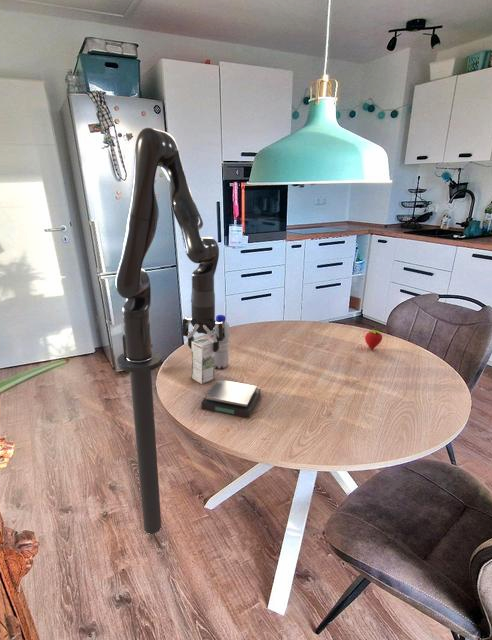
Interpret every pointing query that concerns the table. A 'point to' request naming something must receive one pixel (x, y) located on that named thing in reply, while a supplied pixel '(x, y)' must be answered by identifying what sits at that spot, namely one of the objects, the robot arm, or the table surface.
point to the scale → (231, 406)
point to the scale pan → (232, 392)
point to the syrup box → (203, 360)
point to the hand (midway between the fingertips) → (203, 349)
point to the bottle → (222, 345)
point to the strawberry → (373, 338)
